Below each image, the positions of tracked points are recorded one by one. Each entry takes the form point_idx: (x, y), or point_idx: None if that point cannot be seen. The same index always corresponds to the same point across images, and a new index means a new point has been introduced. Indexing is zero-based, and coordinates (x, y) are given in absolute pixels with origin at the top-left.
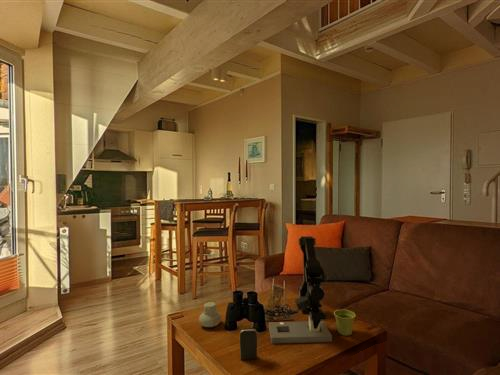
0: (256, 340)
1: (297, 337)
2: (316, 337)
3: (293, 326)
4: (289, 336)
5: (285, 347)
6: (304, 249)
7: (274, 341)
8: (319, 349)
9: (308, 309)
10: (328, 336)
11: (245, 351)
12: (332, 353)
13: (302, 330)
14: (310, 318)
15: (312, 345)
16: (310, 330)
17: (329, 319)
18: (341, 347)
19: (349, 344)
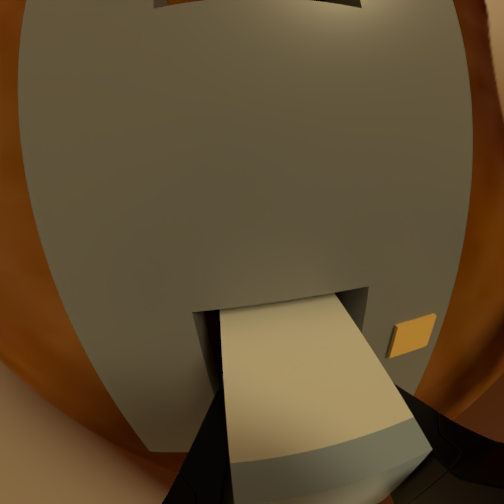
0: None
1: (25, 131)
2: (96, 358)
3: (359, 76)
4: (37, 24)
5: (2, 35)
6: None
7: None
8: (23, 325)
9: (491, 501)
10: (139, 435)
11: None
12: (24, 382)
13: (220, 210)
14: (257, 497)
15: (49, 283)
16: (242, 322)
17: (441, 391)
18: (106, 434)
19: (153, 461)
